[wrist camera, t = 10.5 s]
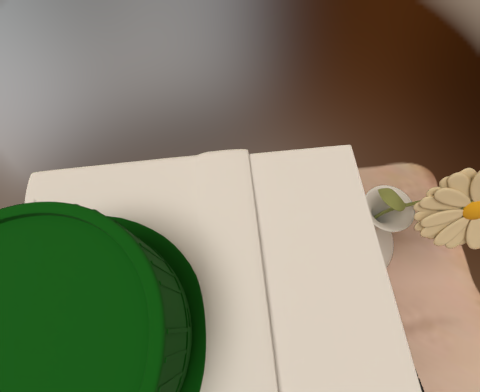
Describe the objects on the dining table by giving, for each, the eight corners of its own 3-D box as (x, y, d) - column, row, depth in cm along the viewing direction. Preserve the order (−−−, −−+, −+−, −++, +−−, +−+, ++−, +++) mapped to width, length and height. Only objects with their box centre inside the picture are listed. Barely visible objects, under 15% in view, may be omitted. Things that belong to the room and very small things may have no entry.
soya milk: (174, 271, 24) (-76, 89, 5) (286, 260, 24) (419, 46, 6) (174, 402, 20) (-542, 1175, 2) (306, 388, 20) (850, 963, 2)
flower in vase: (293, 257, 42) (348, 175, 19) (325, 192, 46) (405, 59, 23) (383, 306, 39) (578, 281, 16) (410, 233, 43) (599, 128, 20)
